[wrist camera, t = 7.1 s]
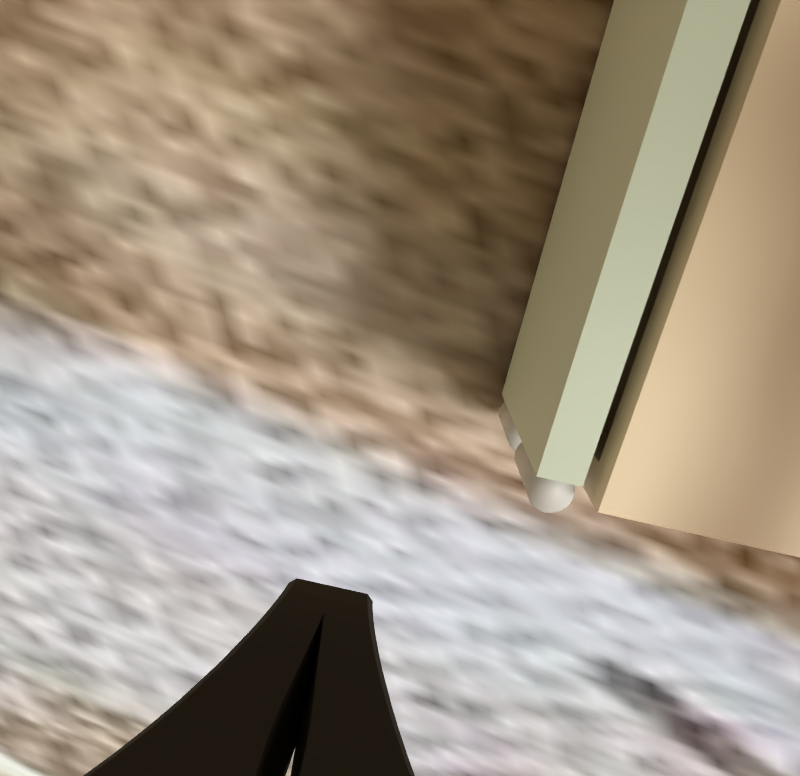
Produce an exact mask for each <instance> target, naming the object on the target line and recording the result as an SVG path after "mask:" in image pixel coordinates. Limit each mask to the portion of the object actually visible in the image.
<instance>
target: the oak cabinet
mask: <svg viewBox="0 0 800 776" xmlns="http://www.w3.org/2000/svg"><path fill="white" fill-rule="evenodd" d="M583 488H584V489H585V491H586V493H587V494H588V496H589V498H590V500H591V501H592V503H593V505H594V506H595V508H596V510H597V512H599V513H603V514H608V515H612V516H617V517H621V518H626V519H630V520H635V521H639V522H644V523H648V524H653V525H657V526H662V527H666V528H671V529H675V530H679V531H684V532H688V533H693V534H697V535H702V536H706V537H711V538H715V539H720V540H724V541H729V542H733V543H738V544H742V545H747V546H751V547H756V548H760V549H764V550H769V551H773V552H778V553H782V554H787V555H791V556H796V557H800V0H751V1H750V4H749V7H748V10H747V12H746V15H745V18H744V21H743V24H742V27H741V30H740V33H739V36H738V39H737V41H736V44H735V47H734V50H733V53H732V56H731V59H730V62H729V65H728V67H727V70H726V73H725V76H724V79H723V82H722V85H721V88H720V91H719V94H718V96H717V99H716V102H715V105H714V108H713V111H712V114H711V117H710V120H709V123H708V125H707V128H706V131H705V134H704V137H703V140H702V143H701V146H700V149H699V151H698V154H697V157H696V160H695V163H694V166H693V169H692V172H691V175H690V178H689V180H688V183H687V186H686V189H685V192H684V195H683V198H682V201H681V204H680V207H679V209H678V212H677V215H676V218H675V221H674V224H673V227H672V230H671V233H670V235H669V238H668V241H667V244H666V247H665V250H664V253H663V256H662V259H661V262H660V264H659V267H658V270H657V273H656V276H655V279H654V282H653V285H652V288H651V290H650V293H649V296H648V299H647V302H646V305H645V308H644V311H643V314H642V317H641V319H640V322H639V325H638V328H637V331H636V334H635V337H634V340H633V343H632V346H631V348H630V351H629V354H628V357H627V360H626V363H625V366H624V369H623V372H622V374H621V377H620V380H619V383H618V386H617V389H616V392H615V395H614V398H613V401H612V403H611V406H610V409H609V412H608V415H607V418H606V421H605V424H604V427H603V430H602V432H601V435H600V438H599V441H598V444H597V447H596V450H595V453H594V456H593V458H592V461H591V464H590V467H589V470H588V473H587V476H586V479H585V482H584V485H583Z"/></svg>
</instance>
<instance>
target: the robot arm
mask: <svg viewBox="0 0 800 776" xmlns="http://www.w3.org/2000/svg"><path fill="white" fill-rule="evenodd" d="M372 602H373V601H372V600H371V598H370V597H369V595H368V594H365V593H360V592H356V591H351V590H347V589H342V588H338V587H333V586H329V585H324V584H320V583H315V582H311V581H306V580H302V579H295V580H293V581H291V582H290V583H289V584H288V585H287V587H286V588H285V590H284V591H283V592H282V594H281V595H280V596H279V598H278V599H277V600H276V602H275V603H274V604H273V605H272V607H271V608H270V609H269V610H268V611H267V612H266V614H265V615H264V616H263V617H262V618H261V619H260V620H259V622H258V623H257V624H256V625H255V626H254V627H253V628H252V630H251V631H250V632H249V633H248V634H247V635H246V636H245V637H244V638H243V639H242V640H241V641H240V642H239V643H238V644H237V645H236V646H235V647H234V648H233V649H232V650H231V651H230V652H229V654H228V655H227V656H226V657H225V658H224V659H223V660H222V661H221V662H220V663H219V664H218V665H217V666H216V667H214V668H213V669H212V670H211V671H210V672H209V673H208V674H207V675H206V676H205V677H204V678H203V679H201V680H200V681H199V682H198V683H197V684H196V685H195V686H194V687H193V688H192V689H191V690H190V691H188V692H187V693H186V694H185V695H184V696H183V697H182V698H181V699H180V700H179V701H178V702H176V703H175V704H174V705H173V706H172V707H171V708H169V709H168V710H167V711H166V712H165V713H164V714H162V715H161V716H160V717H159V718H158V719H157V720H155V721H154V722H153V723H152V724H150V725H149V726H148V727H147V728H146V729H144V730H143V731H142V732H141V733H139V734H138V735H137V736H136V737H134V738H133V739H132V740H130V741H129V742H128V743H127V744H125V745H124V746H123V747H122V748H120V749H119V750H118V751H116V752H115V753H114V754H113V755H111V756H110V757H109V758H107V759H106V760H104V761H103V762H102V763H100V764H99V765H98V766H96V767H95V768H93V769H92V770H91V771H89V772H88V773H87V774H85V775H84V776H285V775H286V772H287V769H288V767H289V764H290V761H291V758H292V755H293V752H294V749H295V753H294V759H293V765H292V771H291V776H415V775H414V773H413V770H412V767H411V764H410V762H409V759H408V756H407V753H406V750H405V747H404V744H403V741H402V738H401V735H400V732H399V729H398V726H397V722H396V719H395V716H394V712H393V709H392V706H391V702H390V698H389V694H388V690H387V686H386V683H385V679H384V675H383V671H382V667H381V662H380V658H379V653H378V647H377V642H376V636H375V630H374V622H373V610H372Z"/></svg>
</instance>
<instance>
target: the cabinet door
mask: <svg viewBox="0 0 800 776" xmlns="http://www.w3.org/2000/svg"><path fill="white" fill-rule="evenodd" d="M750 1H751V0H614V2H613V6H612V9H611V13H610V16H609V20H608V23H607V27H606V30H605V34H604V37H603V41H602V44H601V48H600V51H599V55H598V58H597V62H596V65H595V69H594V72H593V76H592V79H591V83H590V86H589V90H588V93H587V97H586V100H585V104H584V107H583V111H582V114H581V118H580V121H579V125H578V128H577V132H576V135H575V139H574V142H573V146H572V149H571V153H570V156H569V160H568V163H567V167H566V170H565V174H564V177H563V181H562V184H561V188H560V191H559V195H558V198H557V202H556V205H555V209H554V213H553V216H552V220H551V223H550V227H549V230H548V234H547V237H546V241H545V244H544V248H543V251H542V255H541V258H540V262H539V265H538V269H537V272H536V276H535V279H534V283H533V286H532V290H531V293H530V297H529V300H528V304H527V307H526V311H525V314H524V318H523V321H522V325H521V328H520V332H519V335H518V339H517V342H516V346H515V349H514V353H513V356H512V360H511V363H510V367H509V370H508V374H507V377H506V381H505V384H504V388H503V391H502V396H503V398H504V402H503V403H502V405H501V406H500V409H499V417H500V420H501V423H502V426H503V428H504V431H505V434H506V437H507V440H508V442H509V444H510V446H511V447H512V448H513V449H514V450H516V451H515V462H516V465H517V467H518V470H519V473H520V476H521V478H522V481H523V484H524V487H525V490H526V492H527V495H528V498H529V501H530V502H531V504H532V505H533V506H534V507H535V508H536V509H538V510H540V511H542V512H546V513H554V512H558V511H561V510H563V509H564V508H566V507H567V506H568V505H569V504H570V503H571V501H572V499H573V497H574V492H575V491H574V485H577V486H581V487H583V485H584V482H585V479H586V476H587V473H588V470H589V467H590V464H591V461H592V458H593V456H594V453H595V450H596V447H597V444H598V441H599V438H600V435H601V432H602V430H603V427H604V424H605V421H606V418H607V415H608V412H609V409H610V406H611V403H612V401H613V398H614V395H615V392H616V389H617V386H618V383H619V380H620V377H621V374H622V372H623V369H624V366H625V363H626V360H627V357H628V354H629V351H630V348H631V346H632V343H633V340H634V337H635V334H636V331H637V328H638V325H639V322H640V319H641V317H642V314H643V311H644V308H645V305H646V302H647V299H648V296H649V293H650V290H651V288H652V285H653V282H654V279H655V276H656V273H657V270H658V267H659V264H660V262H661V259H662V256H663V253H664V250H665V247H666V244H667V241H668V238H669V235H670V233H671V230H672V227H673V224H674V221H675V218H676V215H677V212H678V209H679V207H680V204H681V201H682V198H683V195H684V192H685V189H686V186H687V183H688V180H689V178H690V175H691V172H692V169H693V166H694V163H695V160H696V157H697V154H698V151H699V149H700V146H701V143H702V140H703V137H704V134H705V131H706V128H707V125H708V123H709V120H710V117H711V114H712V111H713V108H714V105H715V102H716V99H717V96H718V94H719V91H720V88H721V85H722V82H723V79H724V76H725V73H726V70H727V67H728V65H729V62H730V59H731V56H732V53H733V50H734V47H735V44H736V41H737V39H738V36H739V33H740V30H741V27H742V24H743V21H744V18H745V15H746V12H747V10H748V7H749V4H750Z"/></svg>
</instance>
